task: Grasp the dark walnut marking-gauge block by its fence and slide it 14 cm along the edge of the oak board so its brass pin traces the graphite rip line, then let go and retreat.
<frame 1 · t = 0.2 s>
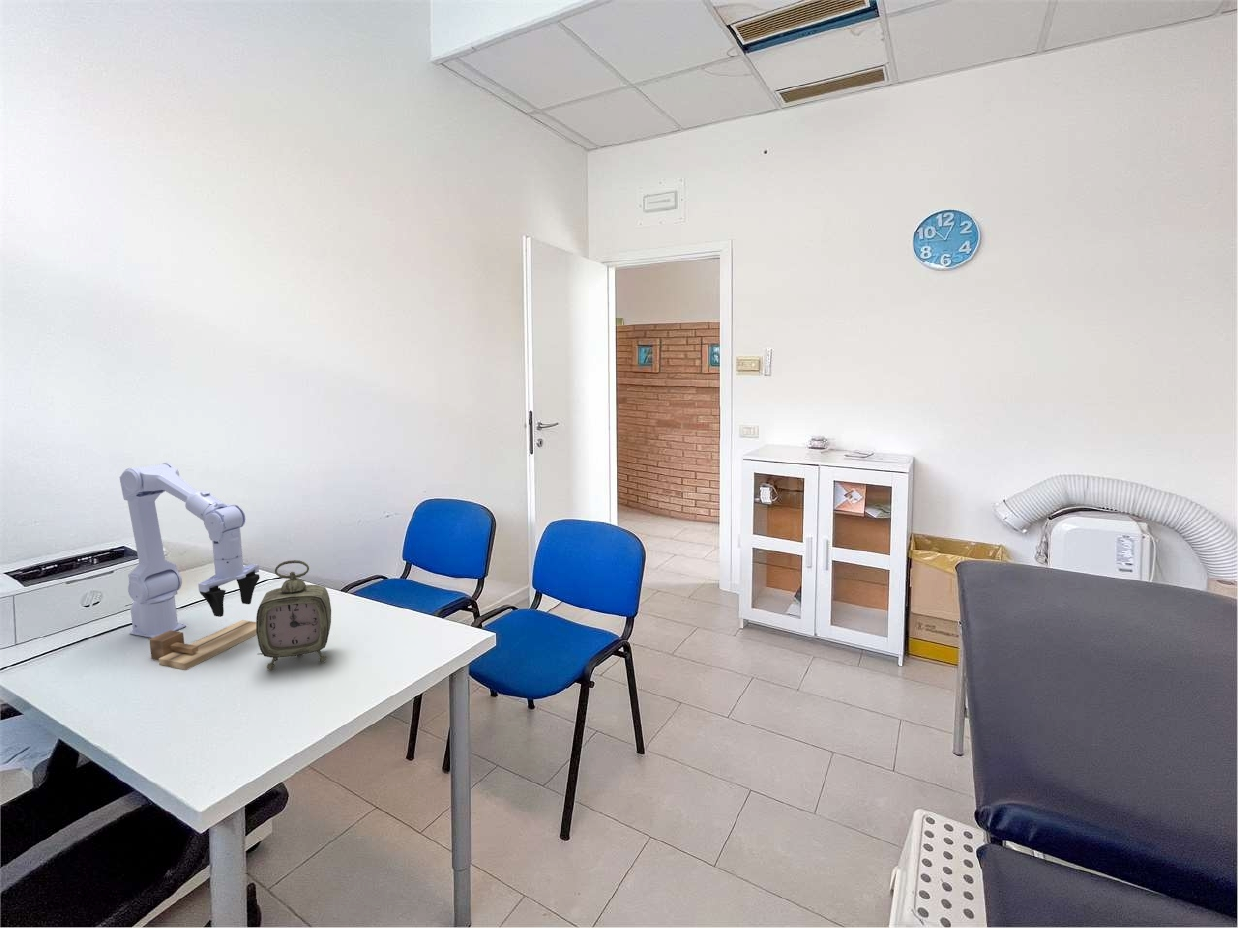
hand: (232, 609, 142), 10 cm above the table, fingers open, 7 cm apart
tabletop clock: (299, 661, 137), on the table
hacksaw: (288, 642, 148), on the table
board: (216, 645, 144), on the table
gauge: (168, 655, 139), on the table
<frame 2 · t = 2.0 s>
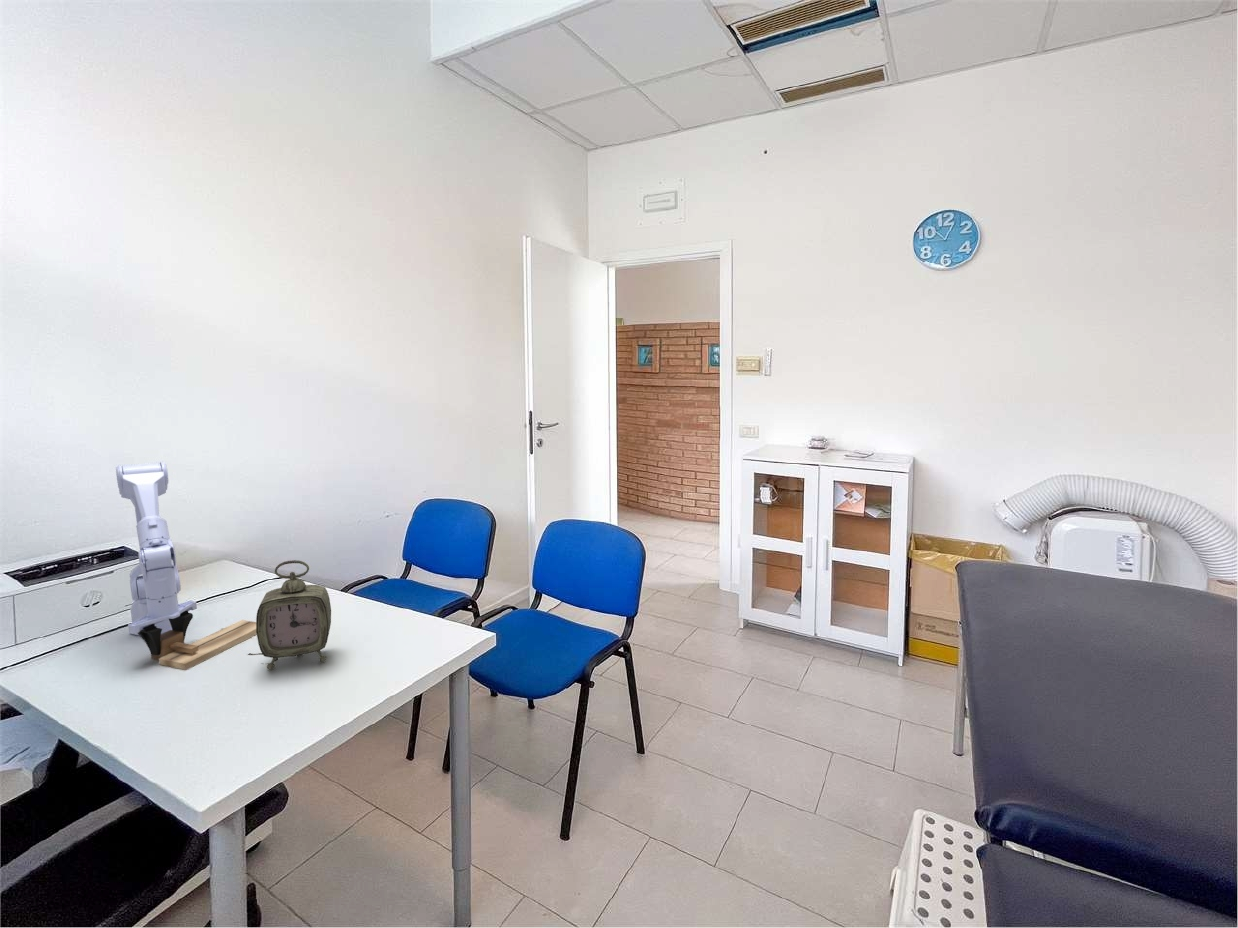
hand: (167, 648, 138), 2 cm above the table, fingers closed on gauge, 5 cm apart
gauge: (168, 654, 139), on the table, touching gripper
everything else where it was.
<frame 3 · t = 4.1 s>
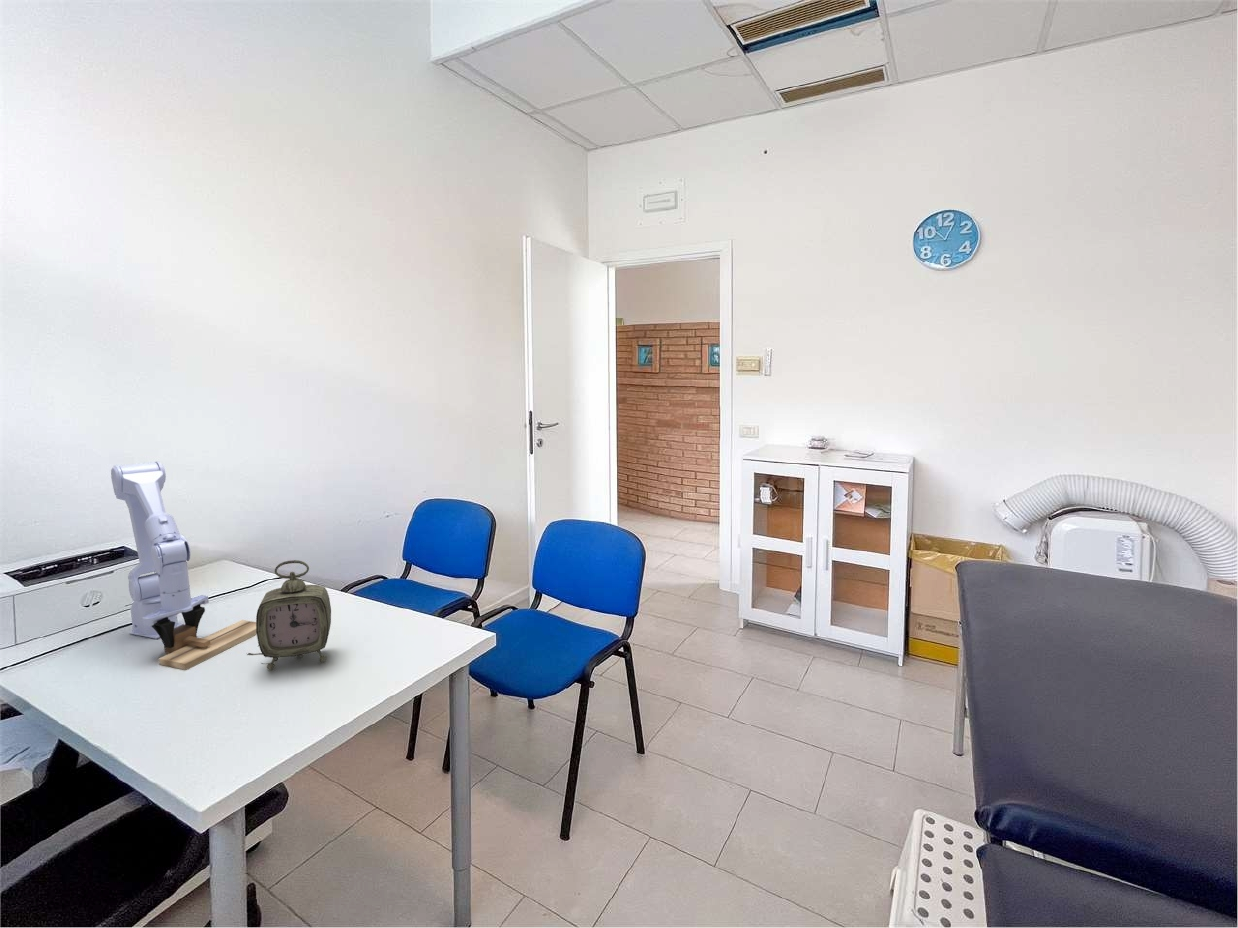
hand: (180, 641, 141), 2 cm above the table, fingers closed on gauge, 5 cm apart
gauge: (181, 648, 142), on the table, touching gripper
everything else where it was.
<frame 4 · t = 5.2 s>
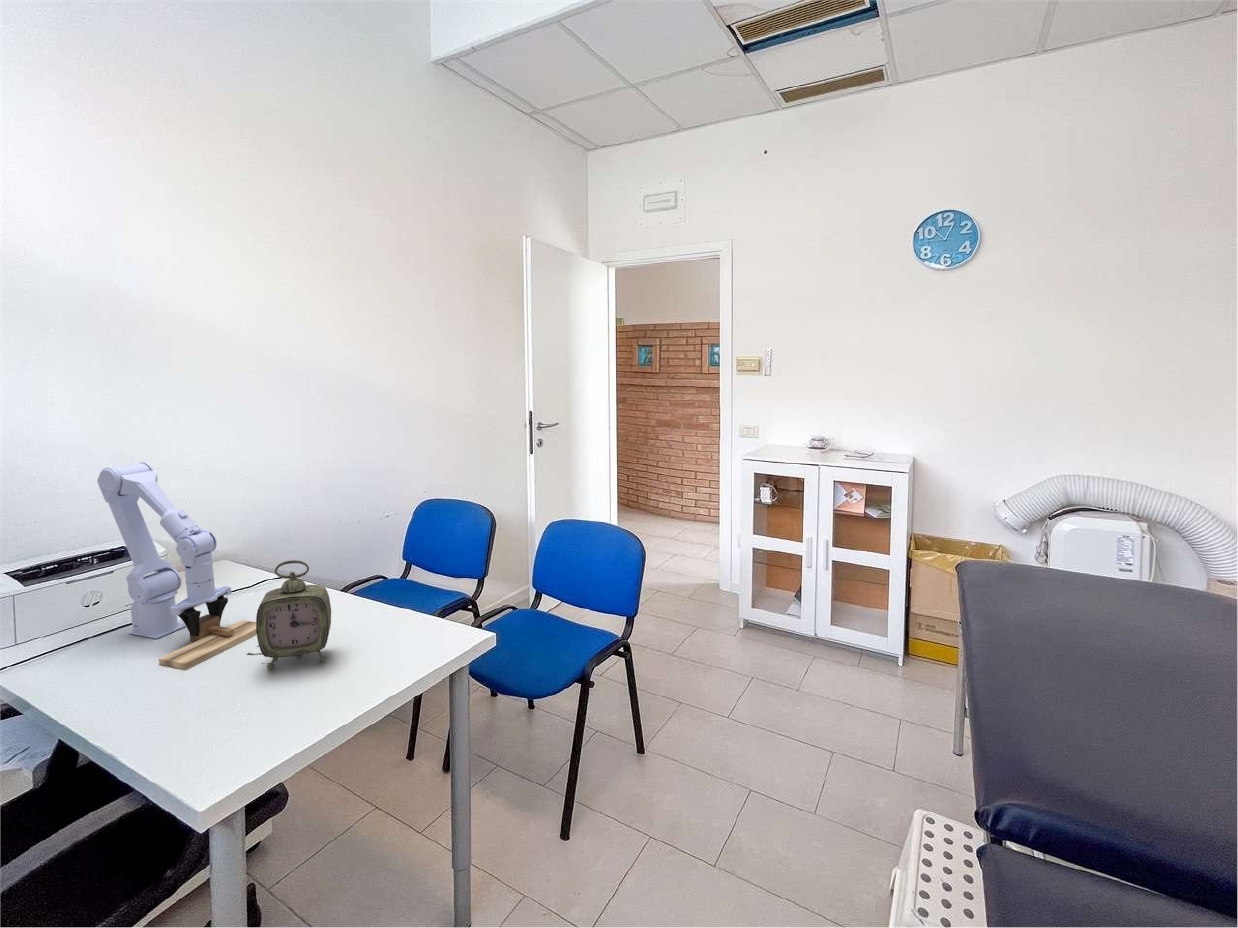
hand: (205, 630, 147), 2 cm above the table, fingers closed on gauge, 5 cm apart
gauge: (205, 637, 148), on the table, touching gripper
everything else where it was.
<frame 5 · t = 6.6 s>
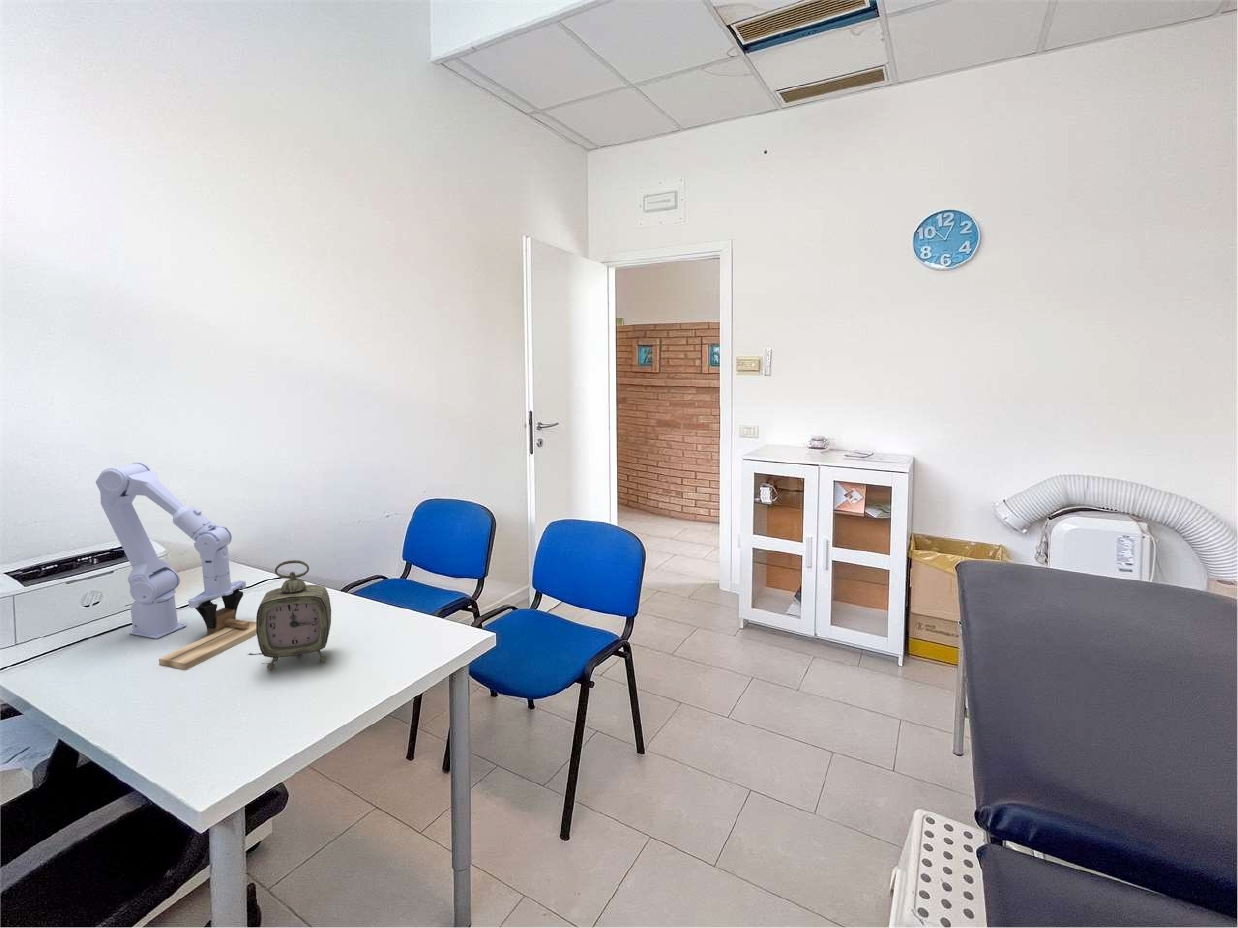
hand: (221, 623, 152), 2 cm above the table, fingers closed on gauge, 5 cm apart
gauge: (222, 630, 152), on the table, touching gripper
everything else where it was.
when the fingers open (2 cm above the table, at t = 7.8 s): gauge stays where it is, on the table.
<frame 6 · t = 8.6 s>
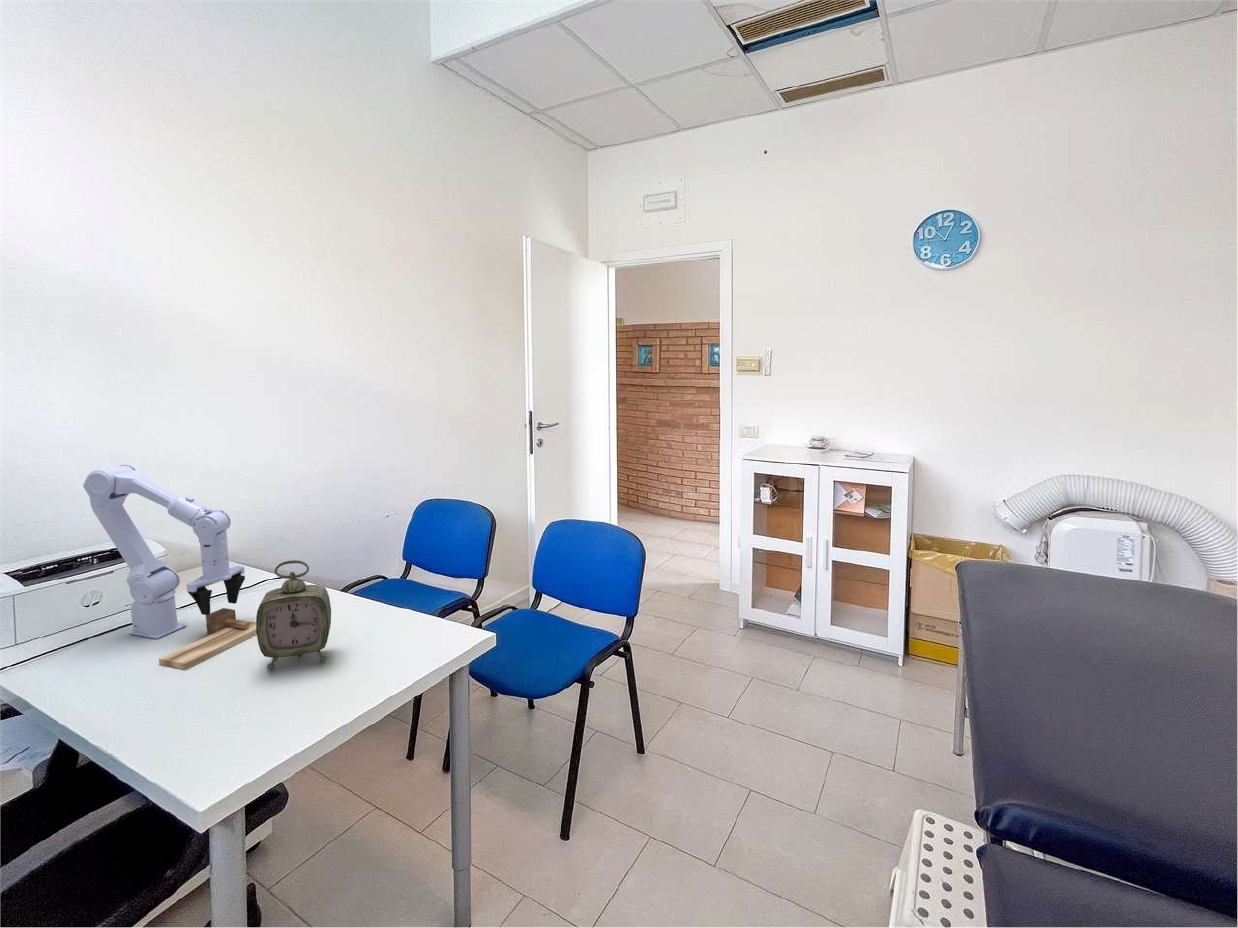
hand: (219, 608, 151), 6 cm above the table, fingers open, 7 cm apart
gauge: (222, 630, 152), on the table
everything else where it was.
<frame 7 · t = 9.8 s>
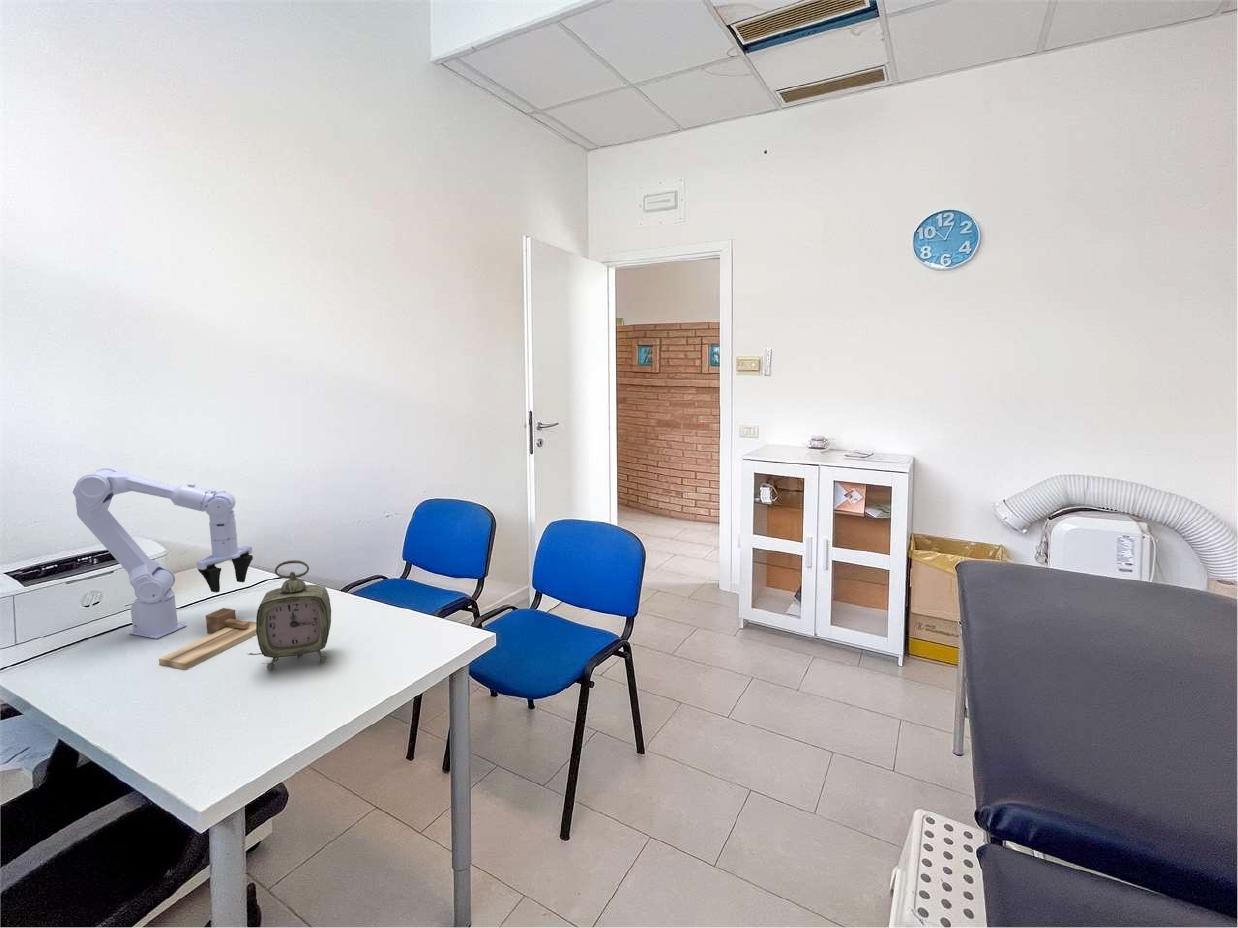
hand: (228, 586, 156), 10 cm above the table, fingers open, 7 cm apart
nothing on the table moved.
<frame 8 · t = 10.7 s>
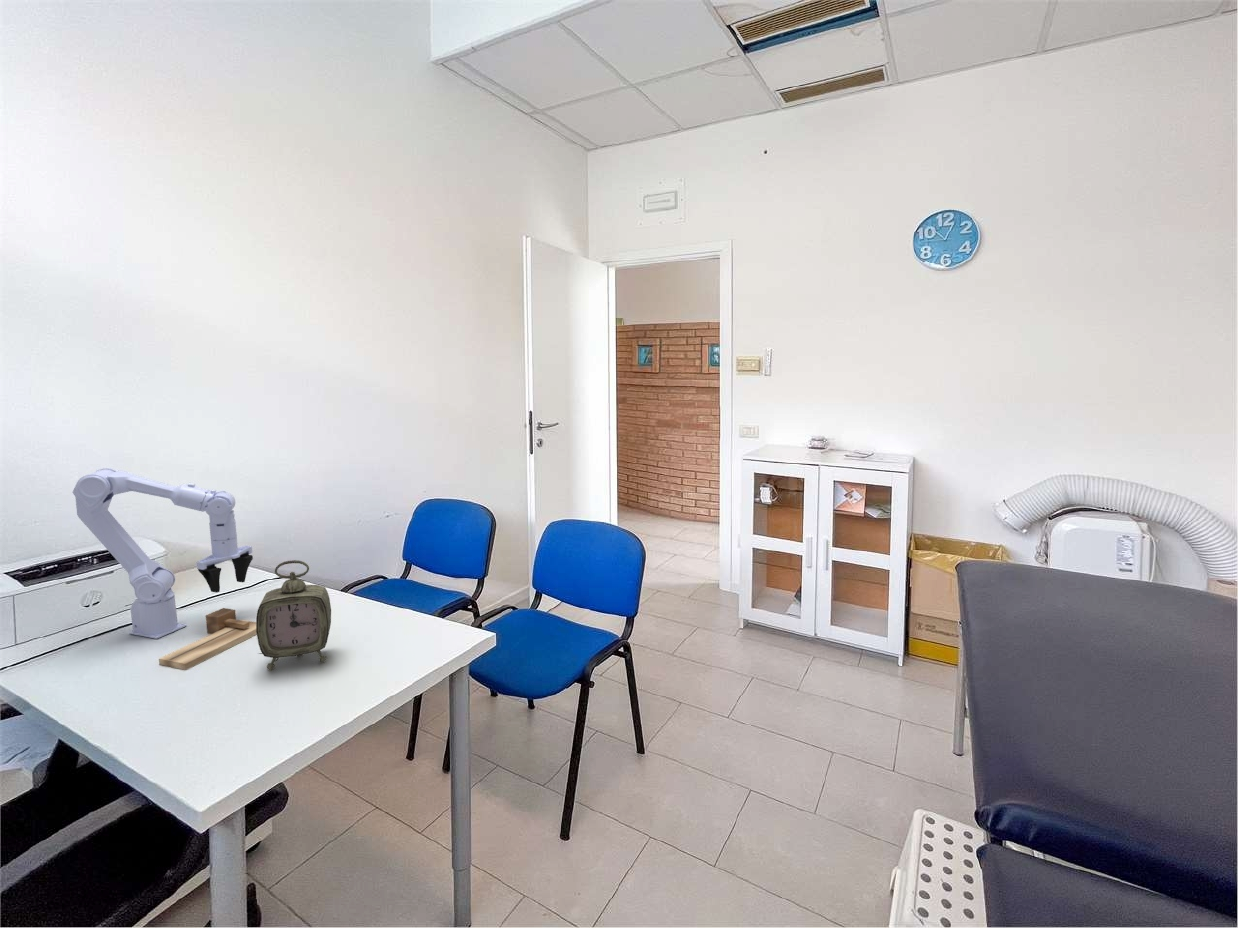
hand: (228, 586, 156), 10 cm above the table, fingers open, 7 cm apart
nothing on the table moved.
at the end: gauge 0.2 cm from the target spot, on the table; gauge moved 14.0 cm from its start; gauge tilted 0° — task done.
